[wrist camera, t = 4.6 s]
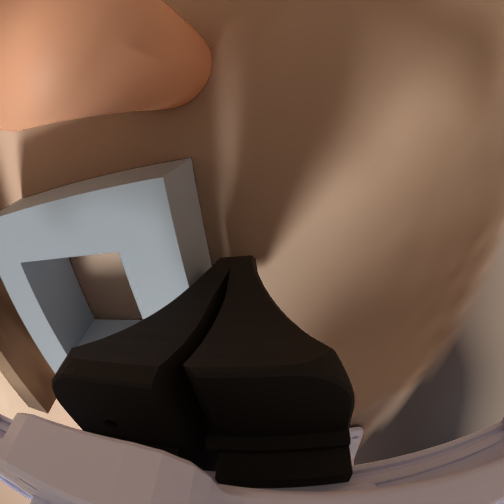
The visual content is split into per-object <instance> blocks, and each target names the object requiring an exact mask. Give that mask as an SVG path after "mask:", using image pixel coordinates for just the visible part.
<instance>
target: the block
mask: <svg viewBox="0 0 504 504" xmlns="http://www.w3.org/2000/svg"><path fill="white" fill-rule="evenodd" d="M114 252H119V254H120V258H121V261H122V264H123V267H124V269H125V272H126V275H127V278H128V281H129V284H130V287H131V289H132V292H133V295H134V297H135V300H136V303H137V305H138V308H139V311H140V313H141V316H142V318H143V319H145V318H147V317H149V316H150V315H152V314H154V313H155V312H157V311H159V310H160V309H162V308H163V307H165V306H166V305H167V304H169V303H170V302H172V301H173V300H174V299H176V298H177V297H178V296H179V295H181V294H182V293H183V292H184V291H185V290H186V289H188V288H189V287H190V286H191V285H192V284H194V283H195V282H196V281H197V280H198V279H199V278H200V277H201V276H202V275H203V274H204V273H205V272H206V271H207V270H208V269H210V268H211V267H212V264H211V259H210V255H209V250H208V245H207V240H206V235H205V230H204V225H203V220H202V214H201V209H200V204H199V199H198V193H197V188H196V182H195V177H194V171H193V165H192V160H191V158H188V159H182V160H176V161H170V162H165V163H160V164H154V165H149V166H144V167H139V168H135V169H130V170H125V171H121V172H116V173H112V174H108V175H104V176H100V177H96V178H92V179H88V180H84V181H80V182H76V183H73V184H69V185H65V186H62V187H58V188H55V189H51V190H48V191H45V192H42V193H38V194H35V195H32V196H29V197H26V198H23V199H20V200H19V201H17V202H15V203H13V204H11V205H10V206H8V207H6V208H4V209H3V210H1V211H0V277H1V279H2V281H3V283H4V285H5V288H6V290H7V292H8V294H9V296H10V298H11V300H12V302H13V304H14V306H15V308H16V310H17V312H18V314H19V316H20V317H21V319H22V321H23V323H24V325H25V326H26V328H27V330H28V332H29V333H30V335H31V337H32V339H33V340H34V342H35V344H36V345H37V347H38V348H39V350H40V352H41V353H42V355H43V356H44V358H45V359H46V361H47V362H48V364H49V365H50V367H51V368H52V370H53V371H54V373H55V374H56V372H57V371H58V369H59V367H60V366H61V364H62V362H63V361H64V359H65V358H66V356H67V355H68V353H69V351H70V350H71V348H74V347H77V346H81V345H84V344H87V343H90V342H93V341H96V340H99V339H102V338H105V337H107V336H110V335H112V334H115V333H117V332H119V331H122V330H124V329H126V328H128V327H130V326H132V325H134V324H136V323H138V322H140V321H141V320H109V319H94V317H93V314H92V312H91V310H90V308H89V306H88V304H87V301H86V299H85V297H84V294H83V292H82V290H81V287H80V285H79V283H78V280H77V278H76V275H75V273H74V270H73V268H72V265H71V263H70V260H69V257H76V256H86V255H95V254H105V253H114Z"/></svg>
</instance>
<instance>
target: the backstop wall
mask: <svg viewBox="0 0 504 504" xmlns="http://www.w3.org/2000/svg"><path fill="white" fill-rule="evenodd" d="M0 371H1V373H2V374H3V375H4V377H5V378H6V379H7V381H8V382H9V383H10V385H11V386H12V387H13V388H14V390H15V391H16V392H17V393H18V395H19V396H20V397H21V398H22V399H23V401H24V402H25V403H26V404H27V405H28V407H31V408H34V409H36V410H39V411H42V412H45V413H49V411H50V409H51V407H52V405H53V403H54V402H55V400H56V397H55V394H54V392H53V389H52V379H53V377H54V375H55V373H54V371H53V370H52V368H51V367H50V365H49V364H48V362H47V361H46V359H45V358H44V356H43V355H42V353H41V352H40V350H39V348H38V347H37V345H36V344H35V342H34V340H33V339H32V337H31V335H30V333H29V332H28V330H27V328H26V326H25V325H24V323H23V321H22V319H21V317H20V316H19V314H18V312H17V310H16V308H15V306H14V304H13V302H12V300H11V298H10V296H9V294H8V292H7V290H6V288H5V285H4V283H3V281H2V279H1V277H0Z"/></svg>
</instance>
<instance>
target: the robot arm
mask: <svg viewBox="0 0 504 504" xmlns="http://www.w3.org/2000/svg"><path fill="white" fill-rule="evenodd" d="M52 389H53V392H54V394H55V397H56V398H57V400H58V401H59V403H60V404H61V405H62V407H63V408H64V409H65V410H66V411H67V413H68V414H69V415H70V416H71V417H72V418H73V420H74V421H75V422H76V423H77V424H78V425H79V426H80V427H81V428H82V429H83V430H79V429H75V428H72V427H69V426H65V425H62V424H59V423H56V422H53V421H50V420H47V419H44V418H41V417H39V416H36V415H32V414H26V413H17V414H16V416H15V417H14V419H13V420H11V419H9V418H7V417H5V416H3V415H1V414H0V480H1V481H2V482H4V483H5V484H7V485H8V486H10V487H11V488H13V489H14V490H16V491H17V492H19V493H20V494H22V495H24V496H25V497H27V498H28V499H30V500H32V501H31V503H30V504H503V503H504V417H503V419H502V421H500V422H498V423H496V424H494V425H491V426H489V427H487V428H484V429H482V430H480V431H477V432H475V433H472V434H470V435H467V436H464V437H462V438H459V439H456V440H453V441H450V442H448V443H445V444H442V445H438V446H436V447H432V448H429V449H425V450H422V451H418V452H415V453H411V454H407V455H403V456H399V457H395V458H391V459H386V460H381V461H376V462H371V463H366V464H360V465H354V462H353V460H354V457H355V455H356V452H357V450H358V447H359V444H360V442H361V439H362V436H363V433H364V431H363V428H362V427H353V428H349V425H350V421H351V417H352V413H353V409H354V401H355V400H354V392H353V388H352V385H351V383H350V380H349V377H348V375H347V373H346V371H345V369H344V367H343V365H342V363H341V361H340V359H339V357H338V356H337V354H336V352H335V351H334V350H333V349H332V348H330V347H328V346H327V345H325V344H323V343H321V342H319V341H318V340H316V339H314V338H312V337H311V336H309V335H308V334H307V333H305V332H304V331H303V330H301V329H300V328H299V327H298V326H297V325H296V324H295V323H294V322H292V321H291V320H290V319H289V318H288V317H287V316H286V315H285V314H284V313H283V312H282V311H281V309H280V308H279V307H278V306H277V305H276V303H275V302H274V301H273V299H272V298H271V296H270V295H269V293H268V292H267V290H266V289H265V287H264V285H263V283H262V281H261V279H260V277H259V275H258V272H257V265H256V258H255V257H253V256H241V257H228V258H220V259H219V260H218V261H217V262H216V263H215V264H214V265H213V266H212V267H211V268H210V269H208V270H207V271H206V272H205V273H204V274H203V275H202V276H201V277H200V278H199V279H198V280H197V281H196V282H195V283H194V284H192V285H191V286H190V287H189V288H188V289H186V290H185V291H184V292H183V293H182V294H181V295H179V296H178V297H177V298H176V299H174V300H173V301H172V302H170V303H169V304H167V305H166V306H165V307H163V308H162V309H160V310H159V311H157V312H155V313H154V314H152V315H150V316H149V317H147V318H145V319H143V320H141V321H140V322H138V323H136V324H134V325H132V326H130V327H128V328H126V329H124V330H122V331H119V332H117V333H115V334H112V335H110V336H107V337H105V338H102V339H99V340H96V341H93V342H90V343H87V344H84V345H81V346H77V347H74V348H71V350H70V351H69V353H68V355H67V356H66V358H65V359H64V361H63V362H62V364H61V366H60V367H59V369H58V371H57V372H56V374H55V375H54V377H53V379H52Z"/></svg>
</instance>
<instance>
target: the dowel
mask: <svg viewBox="0 0 504 504" xmlns="http://www.w3.org/2000/svg"><path fill="white" fill-rule="evenodd" d="M211 69H212V56H211V51H210V49H209V46H208V44H207V43H206V41H205V40H204V39H203V38H202V37H201V36H200V35H199V34H198V33H197V32H196V31H195V30H194V29H193V28H192V27H191V26H190V25H189V24H188V23H187V22H186V21H185V20H183V19H182V18H181V17H180V16H179V15H178V14H177V13H176V12H175V11H174V10H172V9H171V8H170V7H169V6H168V5H167V4H166V3H164V2H163V1H162V0H0V130H4V131H19V130H24V129H28V128H32V127H36V126H41V125H46V124H51V123H56V122H61V121H67V120H72V119H78V118H85V117H92V116H99V115H106V114H115V113H124V112H135V111H147V110H162V109H172V108H176V107H179V106H182V105H184V104H186V103H187V102H189V101H191V100H192V99H193V98H195V97H196V96H197V95H198V94H199V93H200V92H201V90H202V89H203V88H204V86H205V85H206V83H207V81H208V79H209V76H210V73H211Z"/></svg>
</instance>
